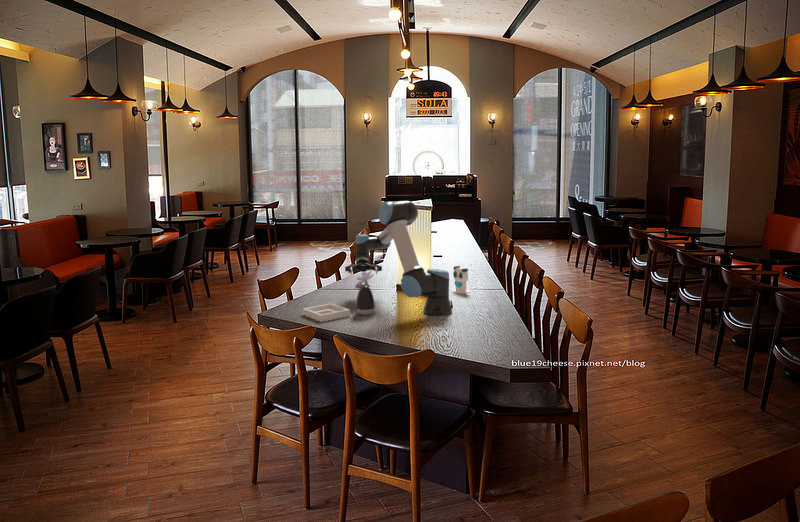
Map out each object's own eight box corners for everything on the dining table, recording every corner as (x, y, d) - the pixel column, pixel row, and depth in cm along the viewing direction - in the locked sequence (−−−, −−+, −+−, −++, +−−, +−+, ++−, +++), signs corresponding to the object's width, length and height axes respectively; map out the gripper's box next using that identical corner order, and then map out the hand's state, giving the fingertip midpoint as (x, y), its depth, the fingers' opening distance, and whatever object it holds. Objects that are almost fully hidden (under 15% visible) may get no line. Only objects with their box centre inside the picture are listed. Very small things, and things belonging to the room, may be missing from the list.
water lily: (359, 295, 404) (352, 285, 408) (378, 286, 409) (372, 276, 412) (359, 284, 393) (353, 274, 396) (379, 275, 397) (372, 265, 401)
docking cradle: (350, 316, 329) (350, 309, 329) (321, 322, 318) (320, 315, 318) (331, 309, 343) (331, 303, 343) (302, 315, 332) (302, 308, 331)
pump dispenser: (375, 311, 340) (374, 283, 337) (374, 316, 329) (374, 287, 327) (356, 311, 339) (355, 283, 337) (355, 316, 329) (355, 288, 326)
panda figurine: (447, 290, 390) (448, 266, 387) (463, 288, 395) (464, 264, 392) (457, 294, 379) (458, 269, 377) (473, 292, 384) (474, 268, 381)
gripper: (384, 270, 363) (387, 278, 342) (341, 271, 361) (341, 278, 340) (384, 257, 362) (387, 264, 341) (340, 258, 359) (340, 265, 338)
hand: (364, 271), depth 340 cm, fingers open, 13 cm apart
